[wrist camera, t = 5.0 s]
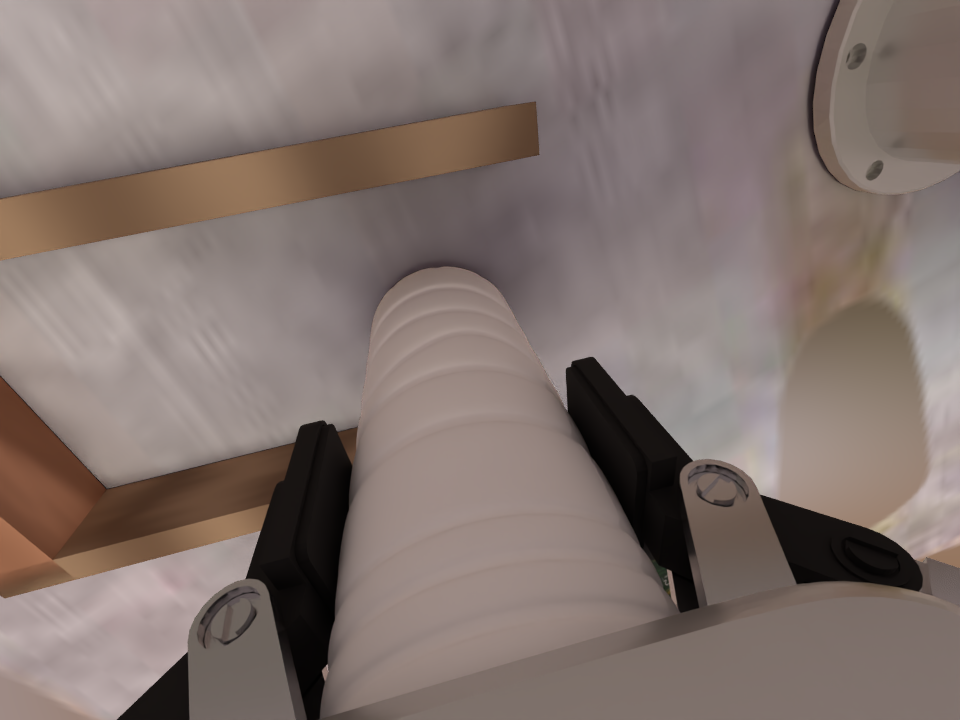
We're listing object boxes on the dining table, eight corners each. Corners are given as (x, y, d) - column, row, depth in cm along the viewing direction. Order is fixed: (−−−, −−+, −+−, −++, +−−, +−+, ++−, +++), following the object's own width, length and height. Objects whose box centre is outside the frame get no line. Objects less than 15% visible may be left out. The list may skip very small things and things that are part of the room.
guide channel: (503, 106, 16) (535, 101, 13) (535, 404, 24) (560, 451, 20) (-242, 242, 14) (-449, 282, 10) (64, 523, 22) (4, 598, 18)
